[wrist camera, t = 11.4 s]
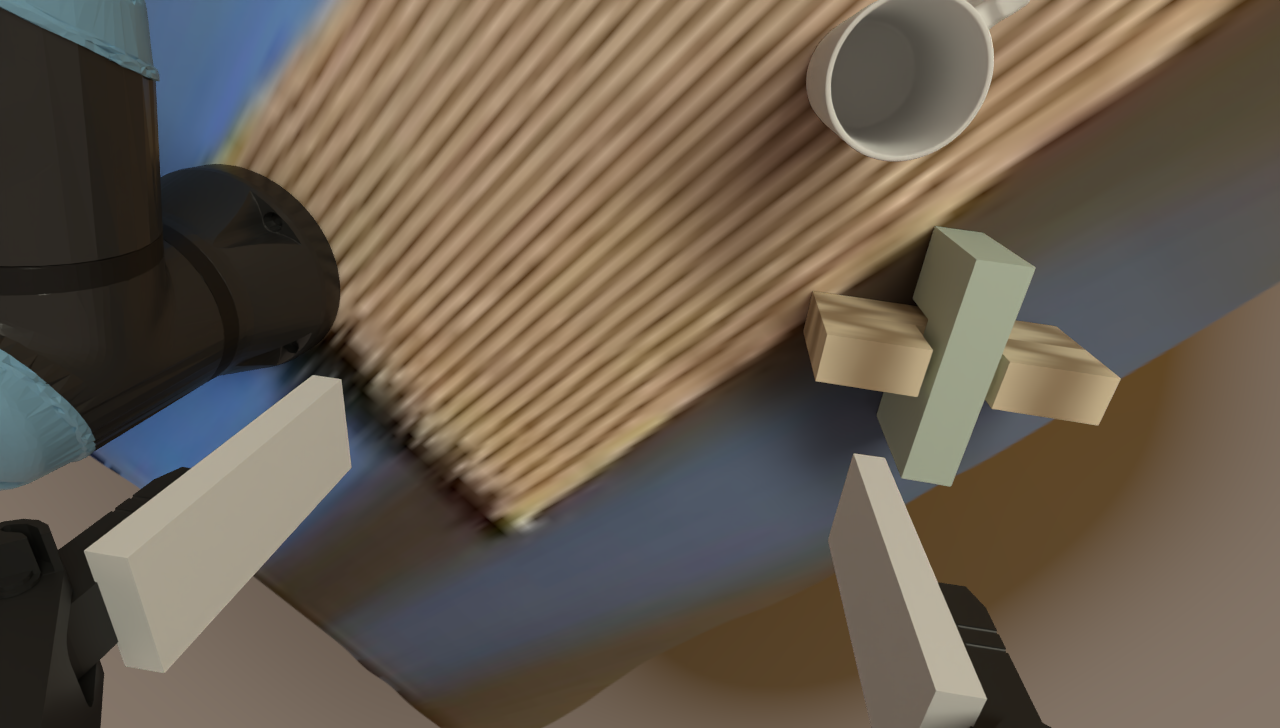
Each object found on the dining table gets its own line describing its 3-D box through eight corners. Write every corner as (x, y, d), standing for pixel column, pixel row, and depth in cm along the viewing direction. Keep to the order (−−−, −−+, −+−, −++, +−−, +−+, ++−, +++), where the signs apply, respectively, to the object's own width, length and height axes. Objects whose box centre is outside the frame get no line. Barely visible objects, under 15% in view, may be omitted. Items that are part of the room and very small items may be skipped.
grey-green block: (876, 415, 47) (901, 478, 40) (934, 226, 41) (976, 259, 34) (918, 422, 47) (951, 486, 39) (982, 232, 41) (1035, 267, 33)
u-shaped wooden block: (803, 331, 45) (815, 381, 38) (812, 291, 44) (827, 334, 36) (1038, 366, 44) (1098, 425, 36) (1055, 326, 42) (1120, 378, 35)
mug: (836, 159, 40) (872, 192, 29) (779, 63, 38) (795, 61, 27) (995, 52, 36) (1103, 45, 26) (940, -58, 35) (1032, -116, 24)
